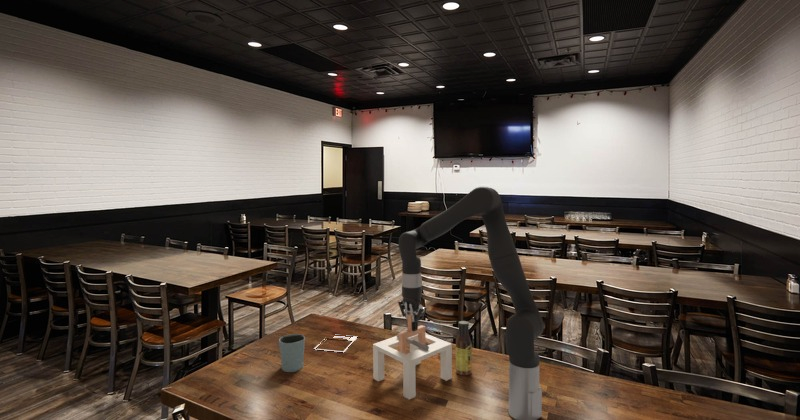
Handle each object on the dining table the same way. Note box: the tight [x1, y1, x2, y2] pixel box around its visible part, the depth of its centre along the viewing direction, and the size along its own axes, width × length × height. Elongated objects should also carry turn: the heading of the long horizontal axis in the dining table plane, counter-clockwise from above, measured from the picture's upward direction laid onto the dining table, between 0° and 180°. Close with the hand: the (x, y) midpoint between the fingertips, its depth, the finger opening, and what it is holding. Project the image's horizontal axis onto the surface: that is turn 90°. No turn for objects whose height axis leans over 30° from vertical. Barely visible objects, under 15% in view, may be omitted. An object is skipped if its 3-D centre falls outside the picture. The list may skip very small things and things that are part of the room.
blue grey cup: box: [278, 333, 306, 373], centre depth 162 cm, size 10×10×12 cm
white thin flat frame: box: [313, 335, 358, 354], centre depth 186 cm, size 15×1×18 cm
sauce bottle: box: [455, 320, 473, 376], centre depth 156 cm, size 6×6×20 cm
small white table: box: [372, 332, 453, 400], centre depth 152 cm, size 22×20×15 cm
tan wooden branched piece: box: [394, 314, 427, 366], centre depth 151 cm, size 13×5×17 cm, turn 132°
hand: (412, 329), depth 151 cm, fingers closed on tan wooden branched piece
